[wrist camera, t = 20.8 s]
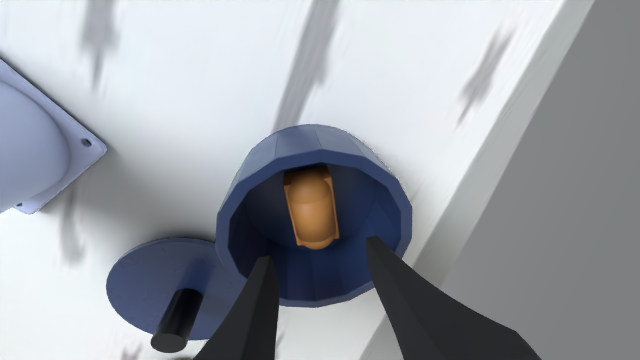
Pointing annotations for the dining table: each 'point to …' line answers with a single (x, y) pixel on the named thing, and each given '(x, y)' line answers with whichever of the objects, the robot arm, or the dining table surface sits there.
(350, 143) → the pot
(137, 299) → the lid
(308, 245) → the bread roll
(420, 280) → the robot arm
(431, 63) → the dining table surface
